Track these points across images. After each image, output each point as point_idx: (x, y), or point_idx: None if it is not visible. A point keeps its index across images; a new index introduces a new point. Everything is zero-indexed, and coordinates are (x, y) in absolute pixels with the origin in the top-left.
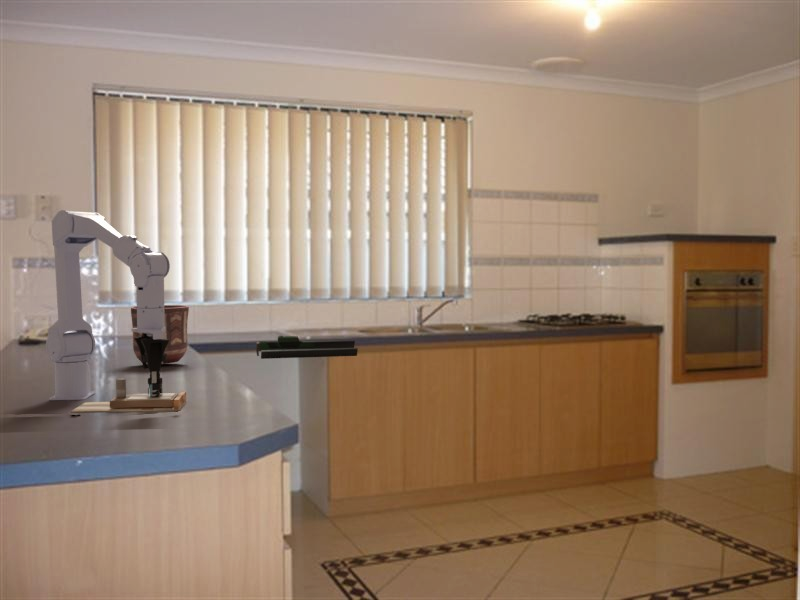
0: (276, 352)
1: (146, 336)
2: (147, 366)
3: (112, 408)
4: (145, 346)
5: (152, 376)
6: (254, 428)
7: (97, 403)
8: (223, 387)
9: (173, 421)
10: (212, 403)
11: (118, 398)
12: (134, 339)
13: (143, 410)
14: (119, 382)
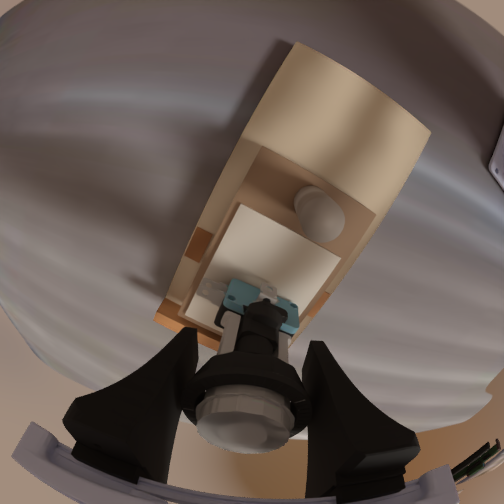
0: (477, 456)
1: (333, 490)
2: (308, 356)
3: None
4: (92, 394)
5: (225, 329)
6: (31, 327)
7: (392, 150)
8: (399, 423)
9: (90, 259)
10: None
11: (297, 187)
12: (412, 435)
13: (194, 231)
14: (304, 205)
